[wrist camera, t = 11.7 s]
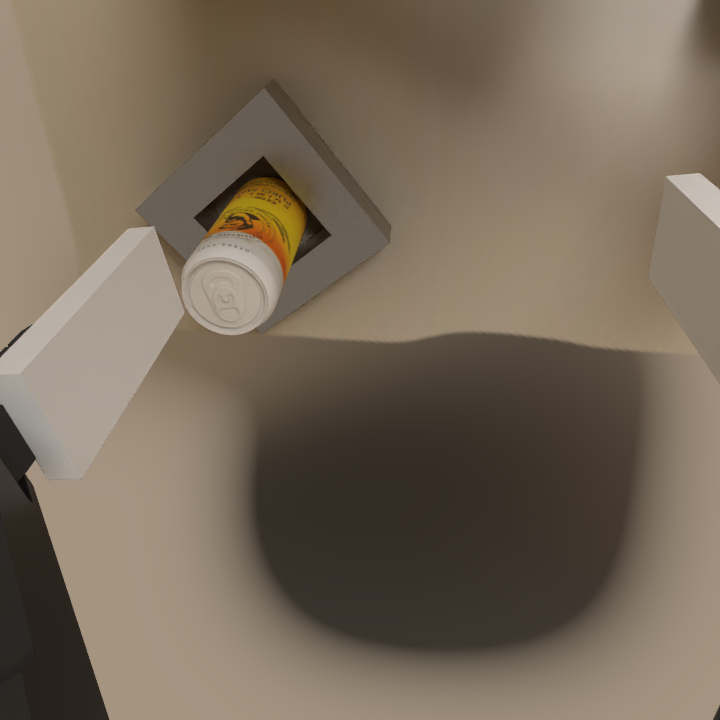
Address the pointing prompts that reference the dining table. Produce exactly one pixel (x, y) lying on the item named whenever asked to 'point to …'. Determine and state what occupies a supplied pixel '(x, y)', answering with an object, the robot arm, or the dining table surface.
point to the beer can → (245, 258)
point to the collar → (299, 170)
